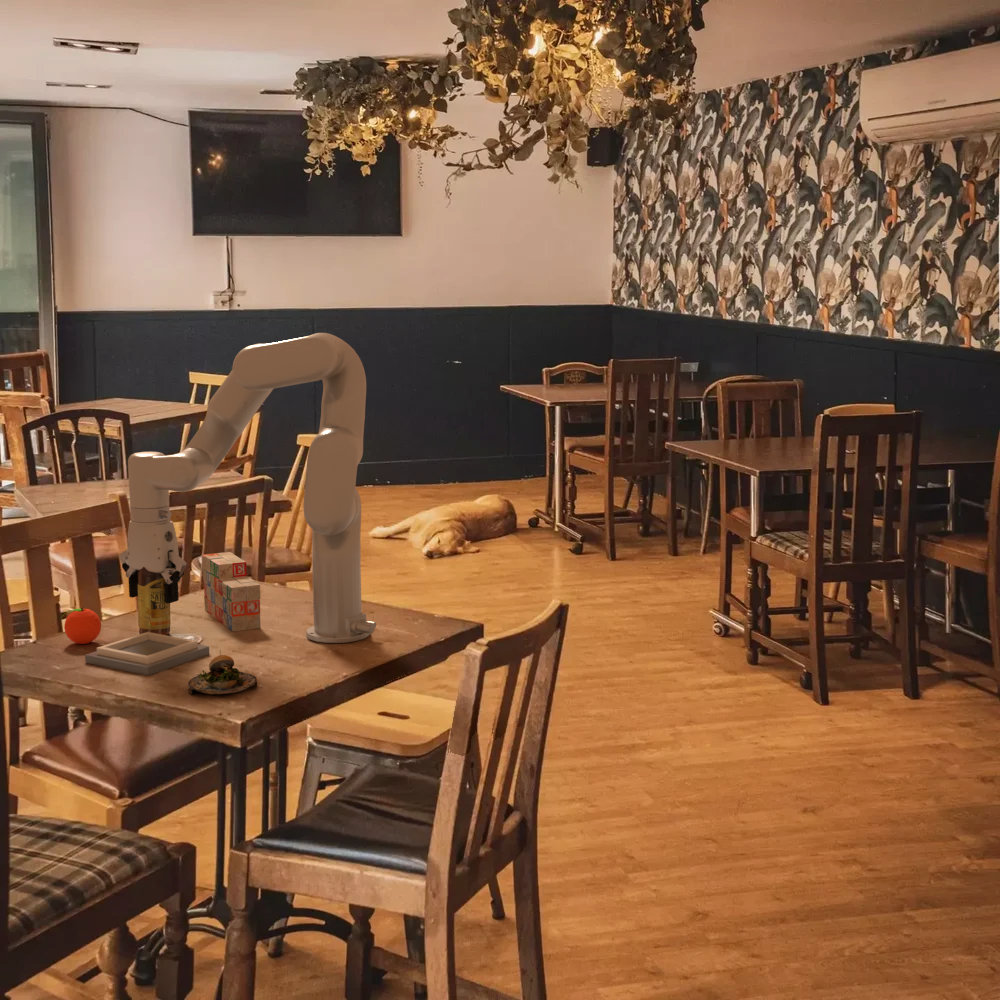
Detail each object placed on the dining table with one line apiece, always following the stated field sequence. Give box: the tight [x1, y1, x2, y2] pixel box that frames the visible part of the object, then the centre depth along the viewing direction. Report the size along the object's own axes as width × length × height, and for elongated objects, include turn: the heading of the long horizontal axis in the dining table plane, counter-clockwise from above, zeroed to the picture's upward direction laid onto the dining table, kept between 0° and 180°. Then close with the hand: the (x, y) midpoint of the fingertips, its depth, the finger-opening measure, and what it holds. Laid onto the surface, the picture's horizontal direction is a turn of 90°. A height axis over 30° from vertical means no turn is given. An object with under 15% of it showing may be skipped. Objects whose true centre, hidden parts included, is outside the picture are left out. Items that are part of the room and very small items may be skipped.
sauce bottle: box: [137, 567, 171, 636], centre depth 271 cm, size 7×6×20 cm
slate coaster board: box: [84, 632, 210, 676], centre depth 256 cm, size 16×16×3 cm
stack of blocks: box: [201, 551, 261, 632], centre depth 284 cm, size 21×6×12 cm, turn 27°
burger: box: [187, 651, 258, 696], centre depth 237 cm, size 12×12×8 cm
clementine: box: [60, 607, 102, 645], centre depth 266 cm, size 8×7×7 cm
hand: (153, 599), depth 271 cm, fingers open, 9 cm apart
